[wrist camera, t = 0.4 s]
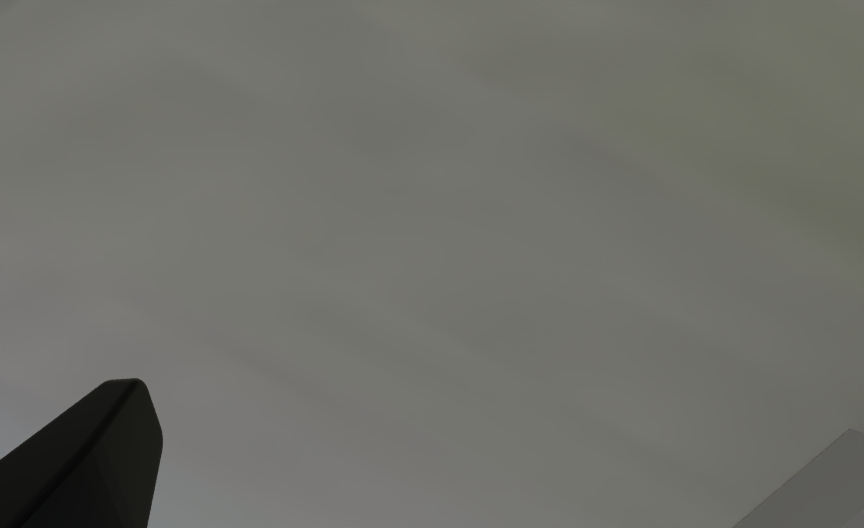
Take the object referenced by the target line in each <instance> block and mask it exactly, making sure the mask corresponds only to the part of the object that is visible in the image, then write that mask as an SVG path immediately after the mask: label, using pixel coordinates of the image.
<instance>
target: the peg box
mask: <svg viewBox="0 0 864 528" xmlns="http://www.w3.org/2000/svg"><path fill="white" fill-rule="evenodd" d="M734 528H864V433H861V432H858V431H855V430H851V429H849V430H848V431H847V432H846V433H845V434H843V435H842V436H841V437H840V438H839V439H837V440H836V441H835V442H834V443H833V444H832V445H830V446H829V447H828V448H827V449H826V450H825V451H823V452H822V453H821V454H820V455H819V456H817V457H816V458H815V459H814V460H813V461H812V462H810V463H809V464H808V465H807V466H806V467H804V468H803V469H802V470H801V471H800V472H799V473H797V474H796V475H795V476H794V477H793V478H791V479H790V480H789V481H788V482H787V483H786V484H784V485H783V486H782V487H781V488H780V489H778V490H777V491H776V492H775V493H774V494H773V495H771V496H770V497H769V498H768V499H767V500H765V501H764V502H763V503H762V504H761V505H760V506H758V507H757V508H756V509H755V510H754V511H752V512H751V513H750V514H749V515H748V516H747V517H745V518H744V519H743V520H742V521H741V522H739V523H738V524H737V525H736V526H735V527H734Z"/></svg>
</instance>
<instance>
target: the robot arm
mask: <svg viewBox="0 0 864 528" xmlns="http://www.w3.org/2000/svg"><path fill="white" fill-rule="evenodd" d="M162 448H163V435H162V430H161V426H160V423H159V420H158V417H157V415H156V412H155V409H154V406H153V403H152V400H151V397H150V394H149V391H148V388H147V386H146V384H145V383H144V382H143V381H142V380H140V379H138V378H131V379H116V380H108V381H105V382H104V383H102V384H101V385H99V386H98V387H97V388H95V389H94V390H93V391H91V392H90V393H89V394H87V395H86V396H85V397H83V398H82V399H81V400H79V401H78V402H77V403H75V404H74V405H73V406H71V407H70V408H69V409H67V410H66V411H65V412H63V413H62V414H61V415H59V416H58V417H57V418H55V419H54V420H53V421H51V422H50V423H49V424H47V425H46V426H45V427H43V428H42V429H41V430H39V431H38V432H37V433H35V434H34V435H33V436H31V437H30V438H29V439H27V440H26V441H25V442H23V443H22V444H21V445H19V446H18V447H17V448H15V449H14V450H13V451H11V452H10V453H9V454H7V455H6V456H5V457H3V458H2V459H1V460H0V528H147V525H148V520H149V515H150V510H151V505H152V500H153V495H154V490H155V485H156V480H157V474H158V469H159V464H160V459H161V454H162Z"/></svg>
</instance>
